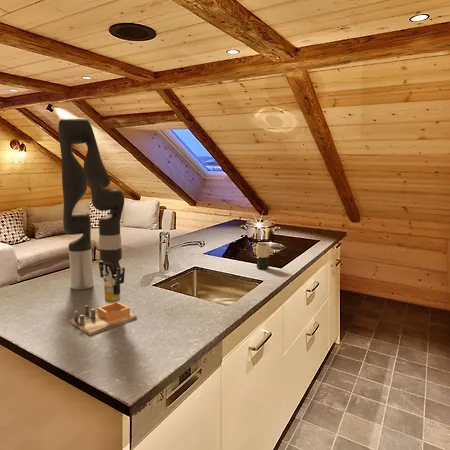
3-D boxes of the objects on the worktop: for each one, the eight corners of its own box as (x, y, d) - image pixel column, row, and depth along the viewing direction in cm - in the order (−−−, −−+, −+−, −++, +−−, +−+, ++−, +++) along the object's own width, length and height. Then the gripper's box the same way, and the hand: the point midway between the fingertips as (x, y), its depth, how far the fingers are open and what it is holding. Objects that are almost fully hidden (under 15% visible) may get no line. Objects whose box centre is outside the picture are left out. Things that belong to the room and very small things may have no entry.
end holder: (97, 314, 133) (97, 307, 133) (117, 307, 139) (117, 301, 138) (109, 321, 128) (109, 314, 127) (129, 314, 133) (129, 307, 133)
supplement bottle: (117, 304, 130) (116, 278, 128) (102, 303, 130) (101, 278, 128) (122, 298, 135) (121, 273, 133) (107, 298, 135) (106, 273, 133)
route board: (70, 322, 129) (69, 319, 128) (115, 307, 142) (115, 304, 142) (89, 335, 119) (89, 332, 119) (136, 318, 132) (136, 315, 132)
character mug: (274, 267, 195) (275, 244, 193) (270, 271, 189) (270, 247, 187) (255, 265, 200) (256, 241, 198) (250, 268, 194) (251, 244, 191)
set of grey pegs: (71, 319, 129) (70, 310, 128) (88, 314, 133) (87, 305, 132) (81, 326, 124) (80, 316, 123) (98, 320, 128) (98, 310, 127)
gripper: (90, 244, 131) (92, 289, 134) (111, 251, 121) (113, 300, 124) (109, 241, 136) (111, 284, 139) (131, 248, 127) (132, 294, 130)
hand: (112, 291), depth 132 cm, fingers closed on supplement bottle, 5 cm apart
